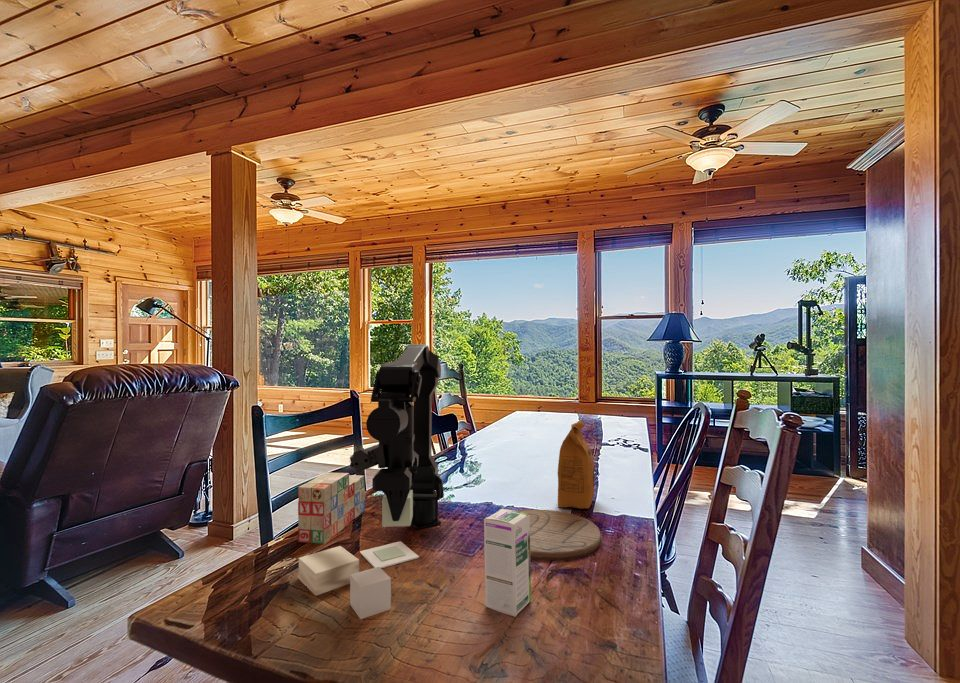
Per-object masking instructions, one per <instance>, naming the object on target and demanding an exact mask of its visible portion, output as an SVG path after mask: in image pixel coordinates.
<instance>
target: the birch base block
mask: <svg viewBox="0 0 960 683" xmlns="http://www.w3.org/2000/svg"><path fill="white" fill-rule="evenodd" d="M357 572H360V559H359V558H357V557H356V556H355V555H353V554H352V552H351V553H350V552H349V551H348V550H347V549H345V548H344V547H342V546H341V545H339V546H335V547H331V548H328V549H324V550H321V551H318V552H315V553H314V552H313V553H311V554H307V555H304V556H300V557H298V580H299V581H300V582H301V583H302V584H303V585H304V586H305V587H306V586H307V587H306V588H307V589H308V590H309V591H310V592H311V593H312V594H313V595H314V596H316V597H317V596H319V595H322V594H325V593H327V592H330V591H333V590H336V589H339V588H342V587H344V586H348V585H350V574H353V573H357Z"/></svg>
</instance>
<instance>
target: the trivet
mask: <svg viewBox="0 0 960 683" xmlns="http://www.w3.org/2000/svg"><path fill="white" fill-rule="evenodd" d="M519 511H520V512H523V513H527V514H529V516H530V560H531V559H532V560H537V561H538V560H540V561H542V560H543V561H563V560H572V559H576V558H577V559H578V558H581V557H584V556H586V555H589V554H590V553H591V554H592V553H593V552H594V551H596V550H597V549H598V548H599V547H600V543H601V531H600V529H599V527H598V525H596V524H595V523H594V522H592V521H591V520H588V519H586V518H585V517H582V516H579V515H577V514H574V513H570V512H565V511H560V510H554V509H553V510H552V509H539V508H538V509H521V510H519ZM598 546H599V547H598Z"/></svg>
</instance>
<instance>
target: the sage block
mask: <svg viewBox="0 0 960 683" xmlns="http://www.w3.org/2000/svg"><path fill="white" fill-rule="evenodd" d="M381 500H382V503H381V504H382V505H381V506H382V507H381V509H382V510H381V517H382V518H381V526H382V527H385V528H386V527H411V526H412V525H411V521H412V517H413V490H410V491H409V494H408V497H407V500H406V502H405V505H404V508H403V511H402V513H401V516H400V519H399V521H393V520H392V516H391V512H390V508H389V504H388V500H387V497H386V495H385V494H384V493H383V497H382V499H381Z"/></svg>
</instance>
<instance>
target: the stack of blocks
mask: <svg viewBox="0 0 960 683" xmlns="http://www.w3.org/2000/svg"><path fill="white" fill-rule="evenodd" d="M297 490H298V491H297V492H298V495H297V496H298V502H297V512H298V513H297V516H298V519H297V520H298V521H297V522H298V523H297V524H298V528H297V529H298V530H297V542H298V543H306V544H307V543H308V544H321V545H324V544H326V543H327V542H328V541H330V539H332V538H333V537H335V536H336V535H337V534H338V533H340V532H341V531H342V530H343V529H344V528H346V526H348V525H349V524H351V522H352V521H354V519H356V518H357V517H359V516H360V515H361V514H363V513H364V511H366V506H365V505H366V501H365V500H366V499H365V498H366V488H365V475H357V474H354V475H353V474H351V475H350V473H349V472H323V473H322V474H320V475H319V476H316V477H315V478H313V479H311V480H309V481H307V482H306V483H304V484H302V485H300V486H298V489H297Z"/></svg>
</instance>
